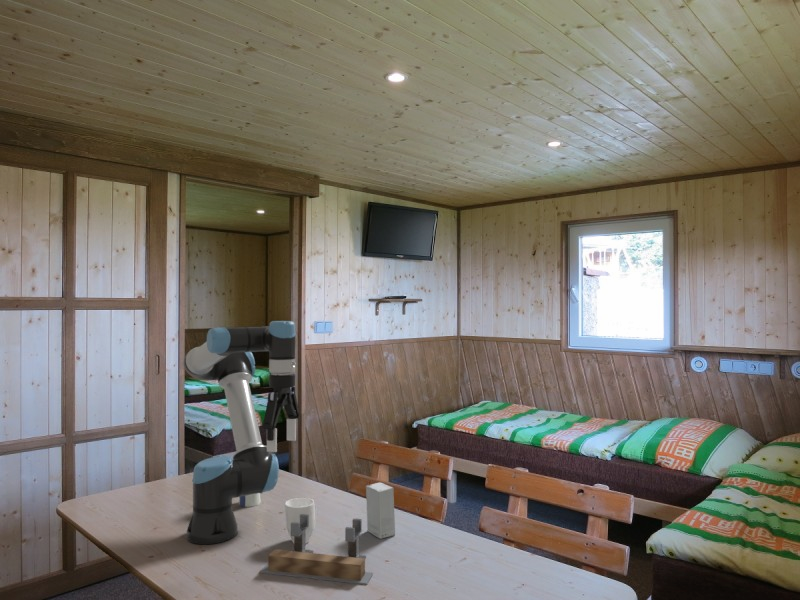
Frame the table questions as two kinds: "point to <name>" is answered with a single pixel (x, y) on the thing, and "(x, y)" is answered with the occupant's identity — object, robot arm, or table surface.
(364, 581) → the mat
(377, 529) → the skincare box
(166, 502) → the table surface
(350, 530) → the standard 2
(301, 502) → the mug
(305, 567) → the rail
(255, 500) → the water bottle
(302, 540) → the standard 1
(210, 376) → the robot arm
